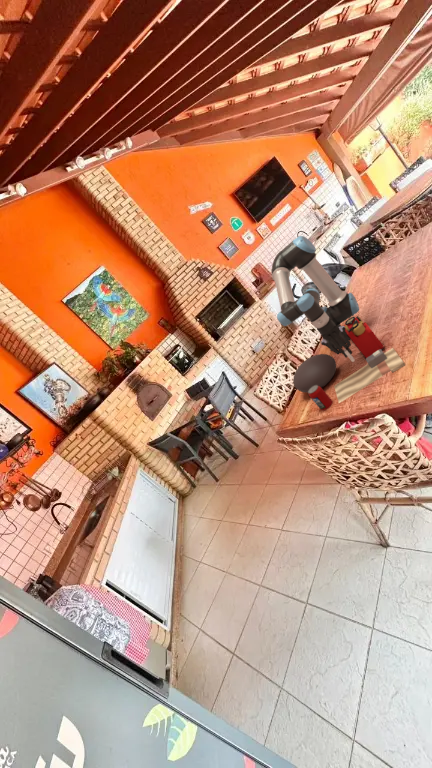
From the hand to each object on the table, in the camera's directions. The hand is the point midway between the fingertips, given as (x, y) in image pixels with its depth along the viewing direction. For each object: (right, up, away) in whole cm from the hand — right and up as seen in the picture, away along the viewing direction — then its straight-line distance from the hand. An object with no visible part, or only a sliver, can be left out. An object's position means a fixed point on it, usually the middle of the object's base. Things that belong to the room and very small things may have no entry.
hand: (353, 360), depth 181 cm
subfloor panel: (+5, -8, -4) cm, 10 cm away
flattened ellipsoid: (-7, -11, +24) cm, 28 cm away
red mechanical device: (+14, +5, +12) cm, 19 cm away
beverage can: (-11, -22, +1) cm, 25 cm away
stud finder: (+11, -1, -3) cm, 11 cm away
